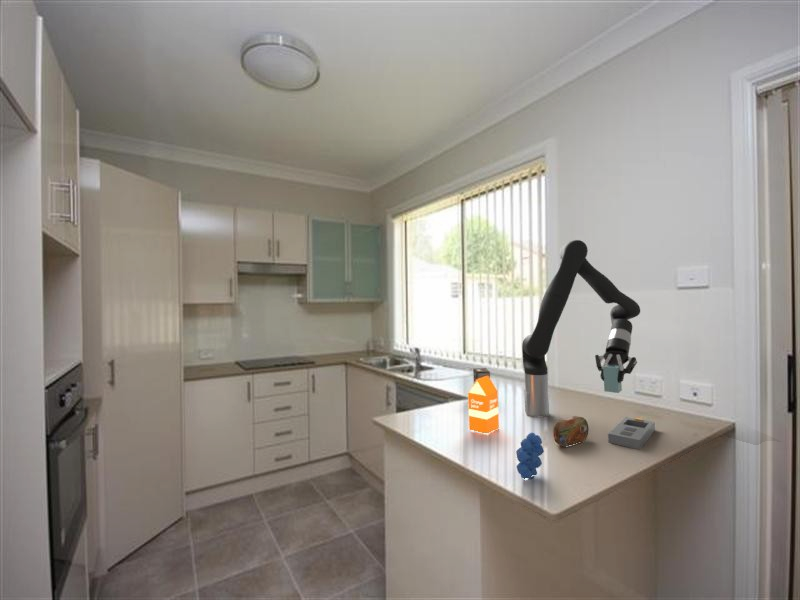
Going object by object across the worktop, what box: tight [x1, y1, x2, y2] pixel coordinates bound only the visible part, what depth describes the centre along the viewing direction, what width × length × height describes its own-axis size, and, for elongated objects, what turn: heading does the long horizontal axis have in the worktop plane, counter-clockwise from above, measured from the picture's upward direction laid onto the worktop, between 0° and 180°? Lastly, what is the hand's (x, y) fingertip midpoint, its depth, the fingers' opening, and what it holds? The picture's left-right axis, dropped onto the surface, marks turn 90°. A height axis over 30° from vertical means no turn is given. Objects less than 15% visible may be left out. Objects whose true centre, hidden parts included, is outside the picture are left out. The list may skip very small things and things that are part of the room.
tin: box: [552, 415, 589, 448], centre depth 123 cm, size 15×3×8 cm, turn 117°
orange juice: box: [467, 376, 500, 433], centre depth 137 cm, size 8×9×20 cm
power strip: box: [607, 416, 656, 450], centre depth 127 cm, size 22×9×4 cm, turn 135°
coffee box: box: [472, 367, 491, 384], centre depth 172 cm, size 9×6×16 cm
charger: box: [603, 365, 623, 394], centre depth 133 cm, size 4×4×9 cm
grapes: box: [515, 432, 545, 479], centre depth 101 cm, size 12×7×12 cm, turn 131°
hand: (611, 380), depth 132 cm, fingers closed on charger, 4 cm apart
